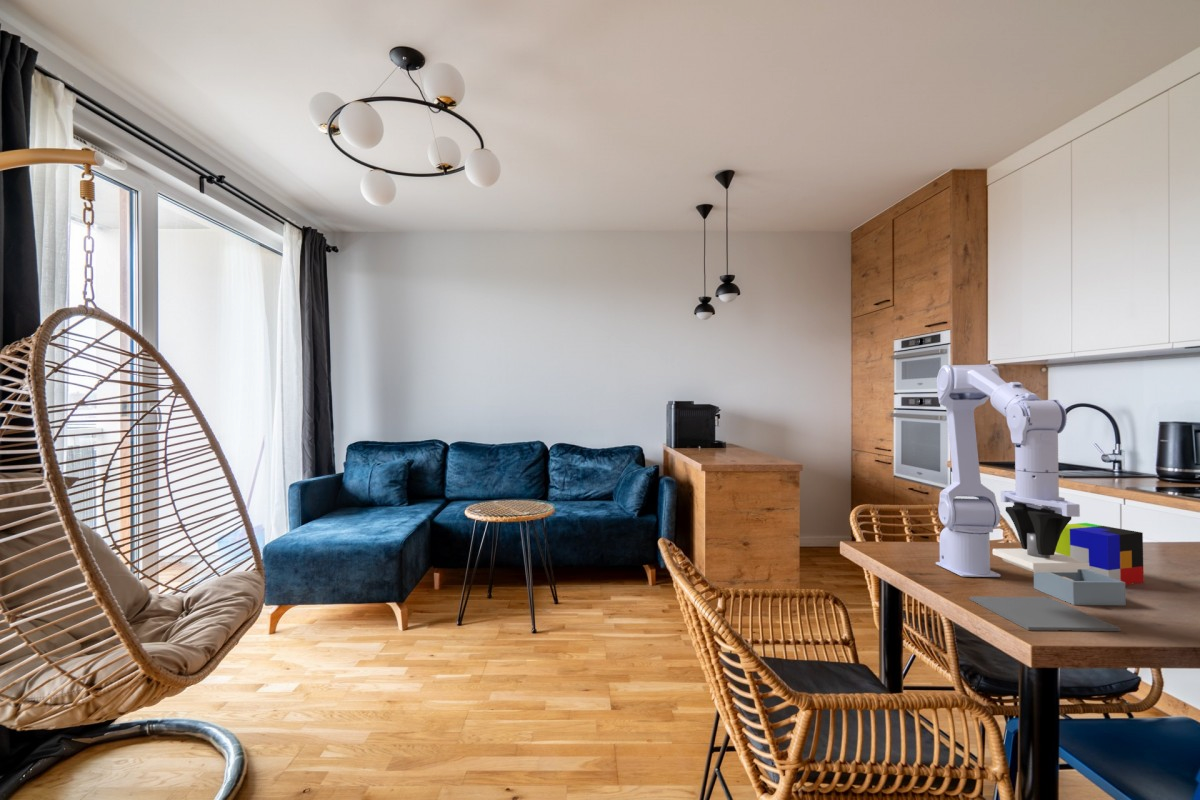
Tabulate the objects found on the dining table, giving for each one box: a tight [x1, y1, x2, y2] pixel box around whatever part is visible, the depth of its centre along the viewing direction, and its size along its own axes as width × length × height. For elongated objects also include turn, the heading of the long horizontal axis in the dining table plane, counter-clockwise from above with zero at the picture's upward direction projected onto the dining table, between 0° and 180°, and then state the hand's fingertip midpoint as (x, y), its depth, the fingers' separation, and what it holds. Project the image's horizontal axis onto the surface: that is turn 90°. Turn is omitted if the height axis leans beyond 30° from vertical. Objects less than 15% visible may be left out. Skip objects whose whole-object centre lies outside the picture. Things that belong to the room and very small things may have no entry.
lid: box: [992, 533, 1089, 573], centre depth 92 cm, size 9×9×5 cm
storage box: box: [1033, 569, 1127, 606], centre depth 100 cm, size 9×9×4 cm
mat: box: [968, 596, 1121, 632], centre depth 91 cm, size 14×14×1 cm
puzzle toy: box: [1055, 522, 1145, 586], centre depth 112 cm, size 10×10×10 cm
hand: (1037, 551), depth 92 cm, fingers closed on lid, 3 cm apart
